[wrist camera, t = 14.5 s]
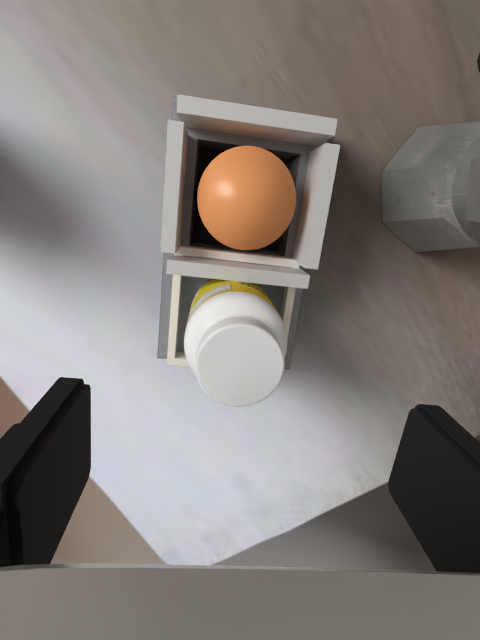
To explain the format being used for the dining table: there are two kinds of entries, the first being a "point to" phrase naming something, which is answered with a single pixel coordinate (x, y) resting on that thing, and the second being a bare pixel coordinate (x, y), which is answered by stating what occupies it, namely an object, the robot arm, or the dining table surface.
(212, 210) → the orange rounded capsule
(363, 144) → the dining table surface
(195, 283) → the grey divided storage tray
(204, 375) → the supplement bottle
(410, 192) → the coffeepot
